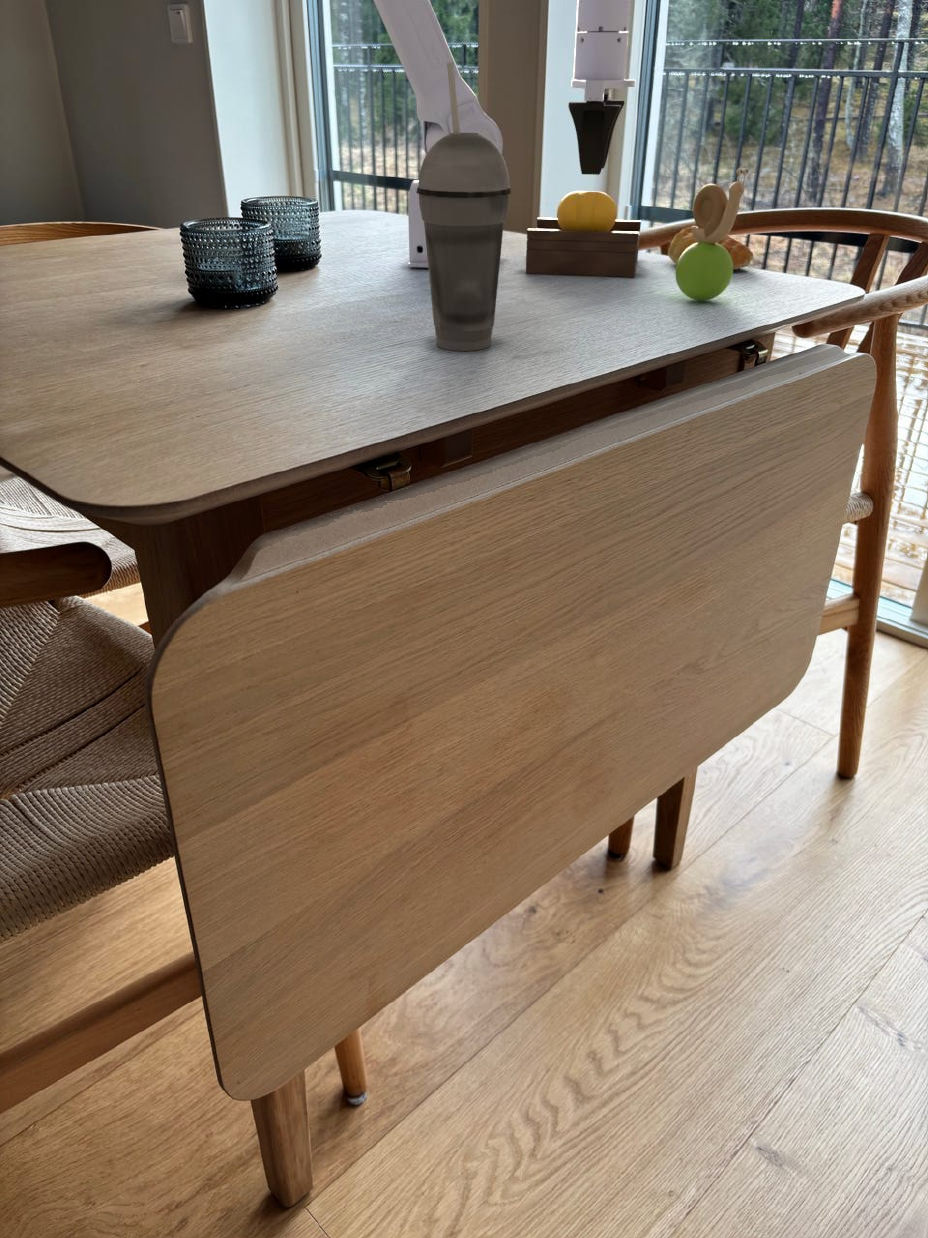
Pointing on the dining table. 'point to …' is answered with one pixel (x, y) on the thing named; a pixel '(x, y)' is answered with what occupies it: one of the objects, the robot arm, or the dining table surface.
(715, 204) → the snail figurine
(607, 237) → the brown blocks
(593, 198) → the yellow oval piece
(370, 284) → the dining table surface
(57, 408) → the dining table surface
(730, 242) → the pastry
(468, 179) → the beverage cup
